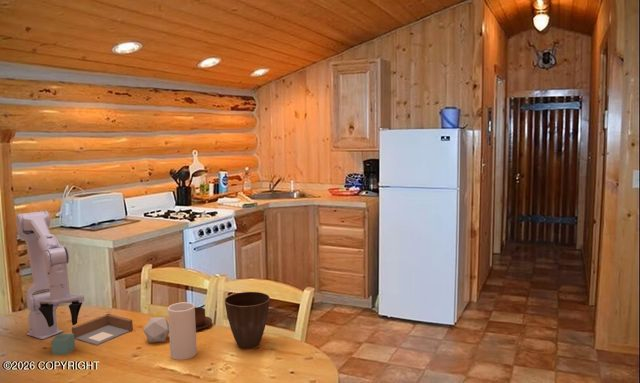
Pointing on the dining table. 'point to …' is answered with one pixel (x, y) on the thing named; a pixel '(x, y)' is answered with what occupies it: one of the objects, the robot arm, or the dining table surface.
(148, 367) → the dining table surface
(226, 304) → the plant pot
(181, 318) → the cup
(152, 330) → the die
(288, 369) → the dining table surface
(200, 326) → the cup and saucer
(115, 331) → the tray
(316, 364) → the dining table surface
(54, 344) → the teal cube
